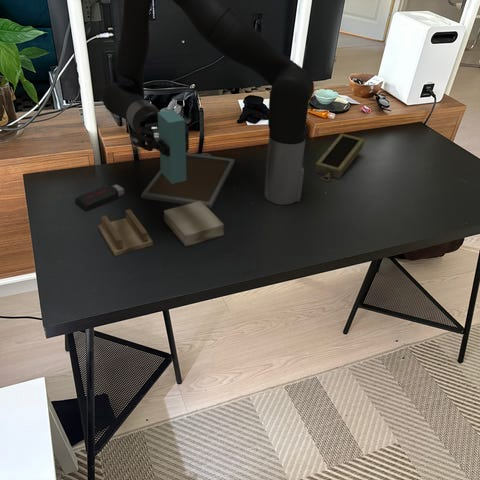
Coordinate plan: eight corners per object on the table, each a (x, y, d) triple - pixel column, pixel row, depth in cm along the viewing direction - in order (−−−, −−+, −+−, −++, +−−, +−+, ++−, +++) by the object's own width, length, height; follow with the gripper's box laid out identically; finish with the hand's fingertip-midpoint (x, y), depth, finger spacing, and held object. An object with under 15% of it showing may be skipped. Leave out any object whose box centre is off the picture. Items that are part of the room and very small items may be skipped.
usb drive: (75, 205, 124) (73, 195, 122) (115, 189, 131) (114, 180, 129) (86, 213, 121) (84, 203, 119) (126, 196, 128) (125, 187, 127)
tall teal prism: (175, 168, 110) (172, 109, 102) (186, 180, 106) (184, 119, 98) (160, 171, 109) (157, 112, 101) (171, 183, 105) (169, 122, 97)
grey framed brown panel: (140, 194, 127) (177, 147, 150) (141, 199, 128) (177, 152, 151) (211, 205, 124) (236, 155, 148) (211, 210, 125) (236, 160, 149)
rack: (134, 219, 119) (133, 207, 117) (153, 244, 111) (152, 232, 109) (98, 228, 115) (96, 216, 113) (115, 256, 107) (113, 243, 105)
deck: (200, 210, 123) (200, 200, 121) (223, 234, 115) (223, 224, 113) (164, 220, 119) (163, 210, 117) (185, 246, 111) (185, 235, 109)
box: (363, 151, 152) (365, 138, 149) (336, 191, 139) (337, 177, 135) (338, 145, 156) (339, 132, 152) (309, 184, 142) (310, 170, 139)
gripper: (116, 110, 108) (144, 139, 96) (174, 101, 114) (207, 128, 102) (119, 141, 112) (147, 173, 100) (175, 131, 118) (207, 160, 106)
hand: (177, 150), depth 101 cm, fingers closed on tall teal prism, 3 cm apart
